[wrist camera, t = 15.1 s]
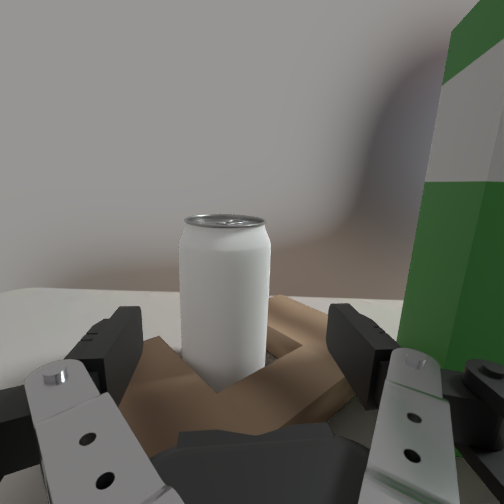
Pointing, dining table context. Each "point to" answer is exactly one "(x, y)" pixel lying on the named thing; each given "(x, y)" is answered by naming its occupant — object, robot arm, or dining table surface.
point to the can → (224, 296)
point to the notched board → (239, 385)
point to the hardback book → (463, 206)
